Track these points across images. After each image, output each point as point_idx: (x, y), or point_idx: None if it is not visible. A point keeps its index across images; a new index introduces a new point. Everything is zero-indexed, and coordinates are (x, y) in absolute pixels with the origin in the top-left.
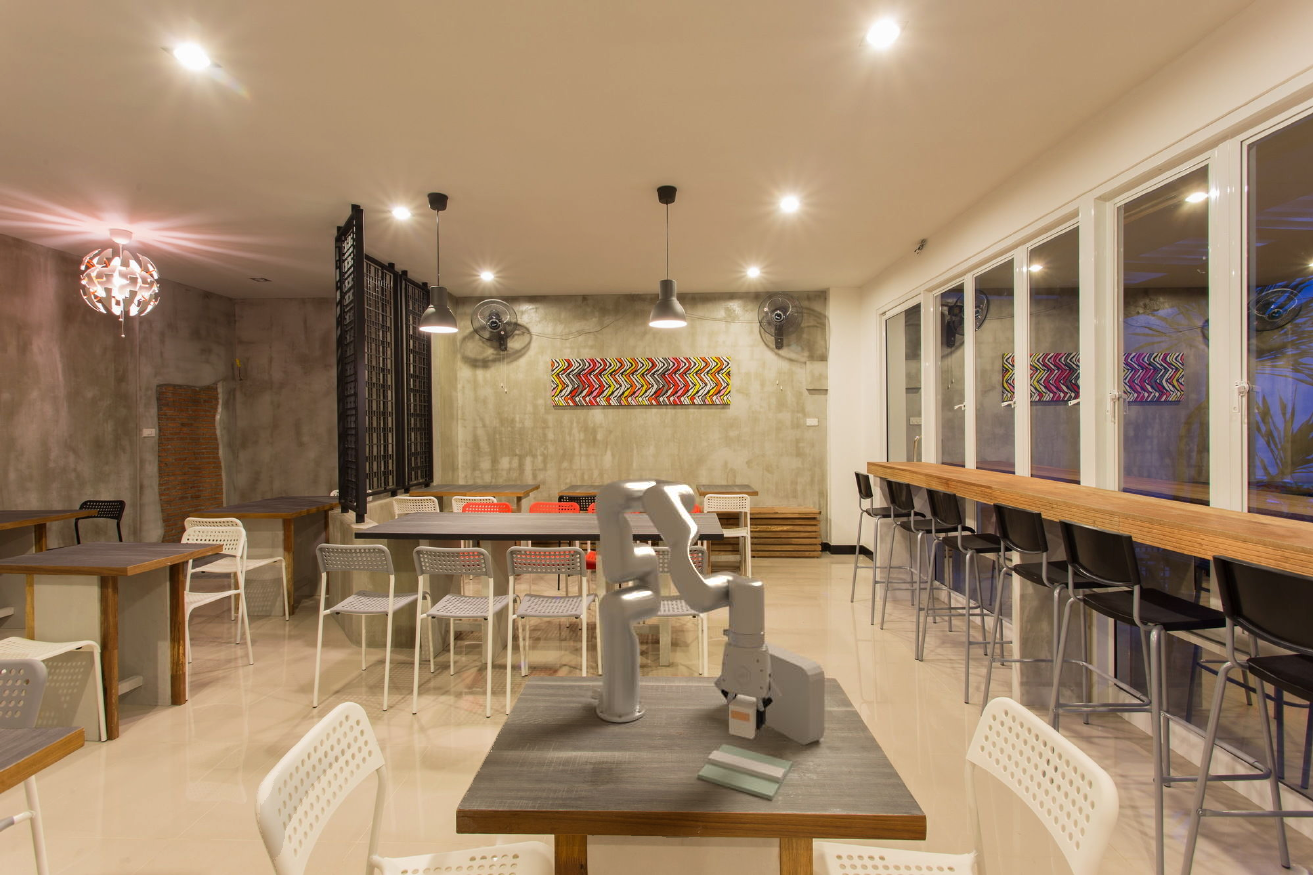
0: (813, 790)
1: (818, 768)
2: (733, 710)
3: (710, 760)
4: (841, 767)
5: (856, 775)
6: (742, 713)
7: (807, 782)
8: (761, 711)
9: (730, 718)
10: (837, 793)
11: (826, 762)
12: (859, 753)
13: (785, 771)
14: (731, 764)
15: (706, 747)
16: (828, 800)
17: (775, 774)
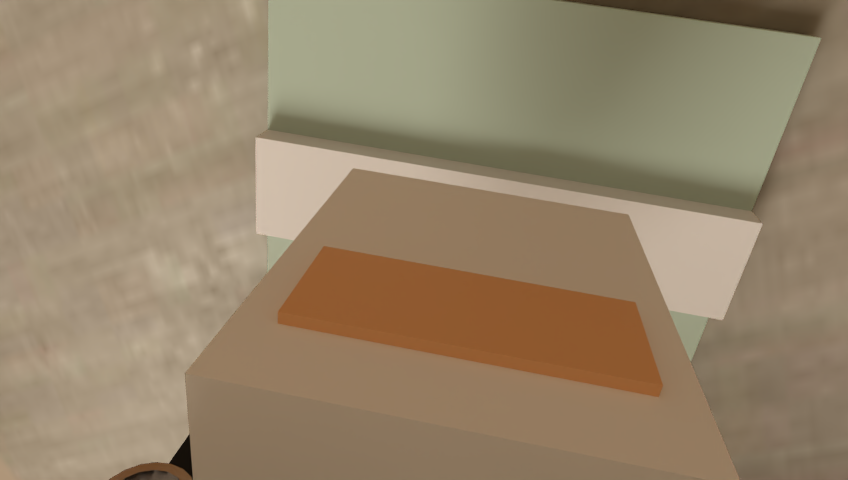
0: (119, 145)
1: (162, 336)
2: (609, 385)
3: (738, 214)
4: (81, 367)
5: (8, 324)
6: (419, 328)
7: (167, 207)
8: (191, 475)
9: (643, 304)
10: (17, 157)
11: (148, 389)
12: (60, 475)
13: (274, 246)
14: (582, 191)
15: (769, 387)
16: (27, 79)
17: (292, 161)
